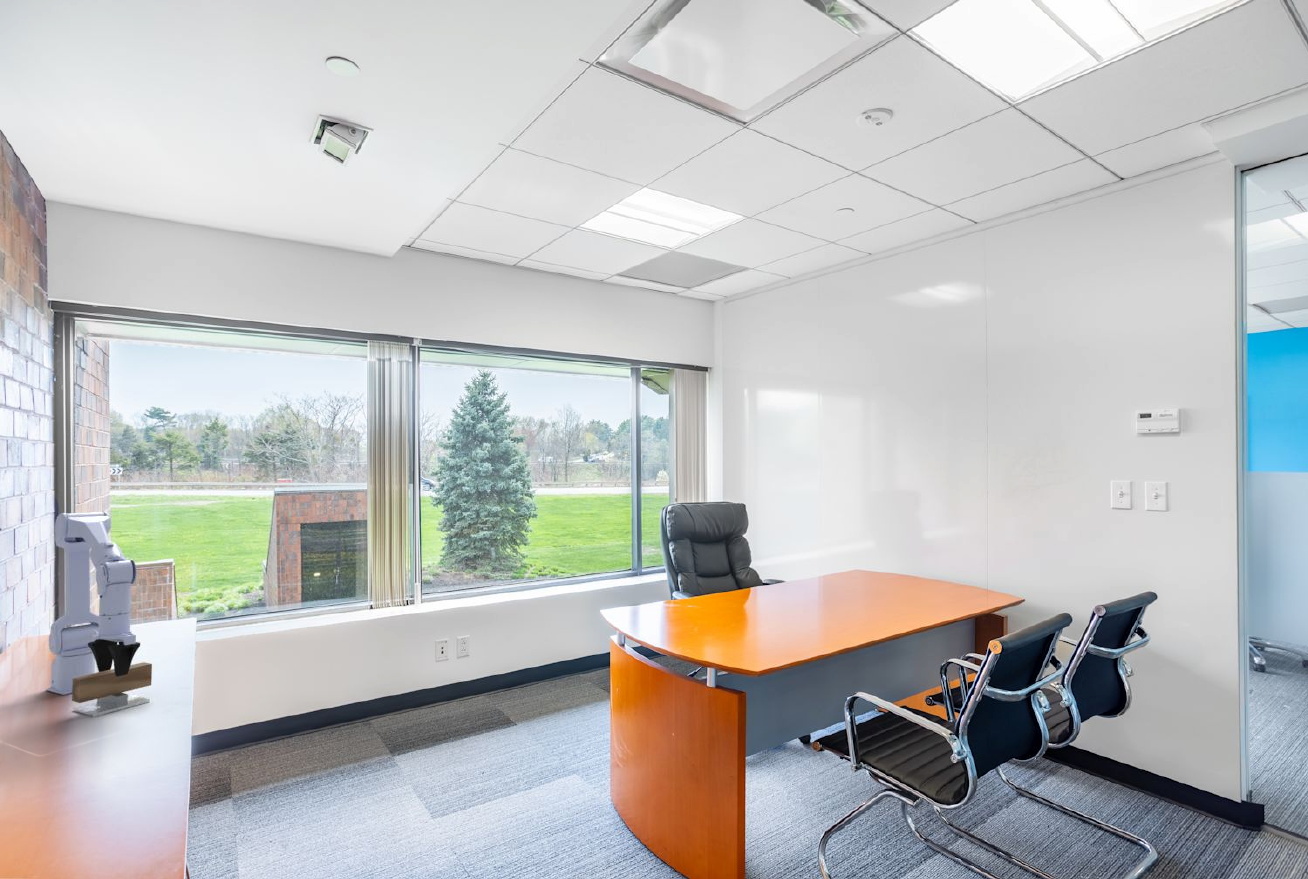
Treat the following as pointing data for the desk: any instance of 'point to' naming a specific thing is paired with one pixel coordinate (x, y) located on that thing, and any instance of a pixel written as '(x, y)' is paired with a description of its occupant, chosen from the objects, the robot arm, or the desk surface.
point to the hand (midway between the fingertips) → (113, 673)
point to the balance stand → (111, 704)
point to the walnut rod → (110, 682)
